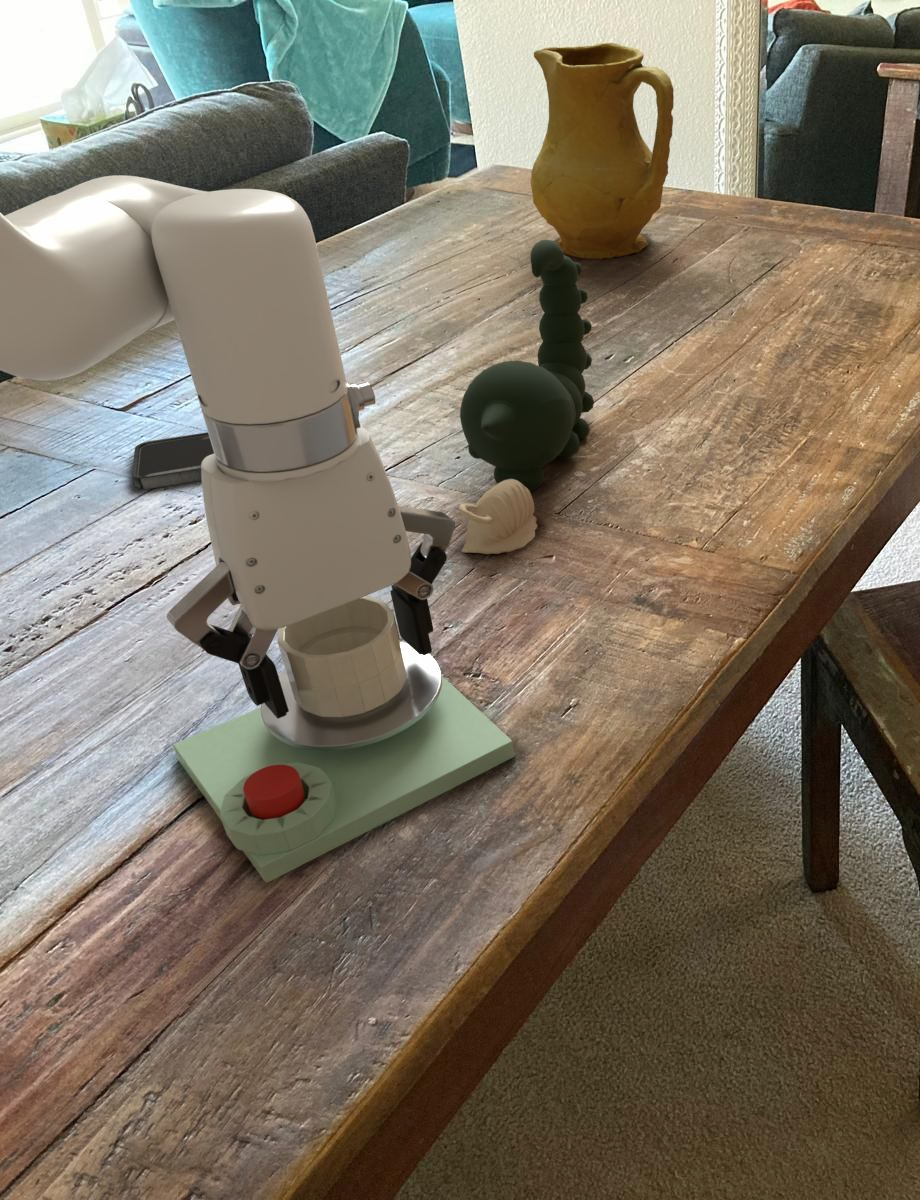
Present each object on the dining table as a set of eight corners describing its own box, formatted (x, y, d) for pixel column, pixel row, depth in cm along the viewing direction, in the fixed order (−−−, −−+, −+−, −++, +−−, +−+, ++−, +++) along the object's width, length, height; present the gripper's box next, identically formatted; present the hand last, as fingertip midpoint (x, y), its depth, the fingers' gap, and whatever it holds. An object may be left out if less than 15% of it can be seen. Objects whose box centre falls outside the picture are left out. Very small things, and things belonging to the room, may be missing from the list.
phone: (312, 450, 109) (130, 479, 104) (315, 462, 110) (134, 491, 105) (307, 416, 115) (135, 442, 110) (309, 427, 116) (139, 453, 111)
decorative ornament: (553, 527, 100) (546, 470, 97) (484, 574, 94) (474, 514, 91) (515, 515, 102) (507, 459, 99) (446, 560, 96) (435, 501, 93)
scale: (258, 889, 67) (244, 850, 65) (171, 764, 75) (157, 727, 74) (515, 757, 76) (509, 721, 74) (411, 660, 85) (404, 625, 83)
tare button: (262, 827, 67) (255, 807, 66) (241, 800, 69) (234, 780, 68) (313, 803, 69) (307, 782, 68) (292, 776, 71) (286, 756, 70)
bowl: (324, 738, 72) (305, 672, 70) (279, 687, 76) (259, 623, 74) (427, 691, 76) (413, 627, 73) (378, 645, 80) (363, 582, 77)
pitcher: (616, 215, 174) (601, 28, 159) (696, 252, 163) (689, 55, 148) (513, 243, 164) (487, 47, 149) (591, 284, 154) (572, 78, 138)
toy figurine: (531, 417, 122) (441, 519, 100) (512, 226, 113) (408, 292, 91) (622, 422, 121) (551, 525, 99) (610, 229, 112) (529, 297, 90)
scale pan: (306, 776, 70) (304, 771, 70) (234, 690, 77) (233, 685, 77) (473, 698, 76) (472, 693, 76) (394, 624, 83) (392, 620, 83)
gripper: (397, 366, 73) (443, 599, 83) (94, 451, 64) (185, 704, 73) (458, 404, 69) (499, 647, 78) (141, 502, 59) (232, 766, 68)
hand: (347, 674), depth 76 cm, fingers open, 9 cm apart
